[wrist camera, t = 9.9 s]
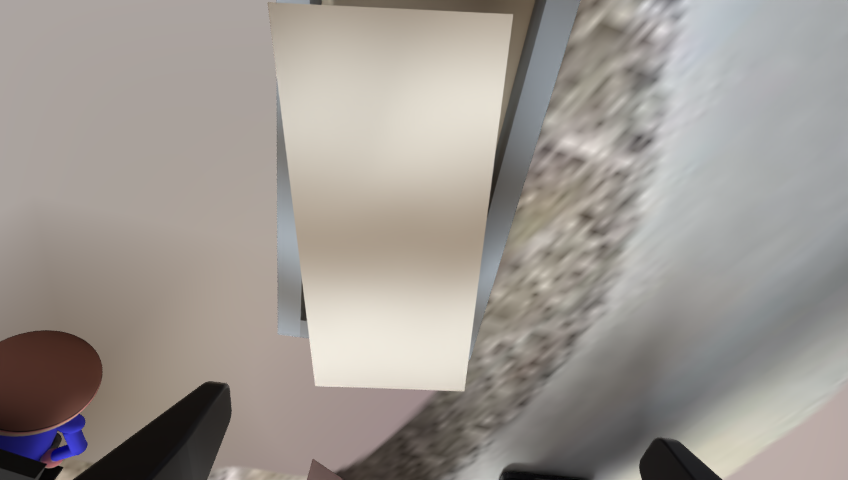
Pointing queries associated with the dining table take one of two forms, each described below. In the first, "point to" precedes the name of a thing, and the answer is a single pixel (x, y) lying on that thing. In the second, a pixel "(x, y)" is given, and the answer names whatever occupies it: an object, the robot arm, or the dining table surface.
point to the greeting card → (321, 472)
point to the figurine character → (44, 401)
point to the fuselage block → (390, 182)
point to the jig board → (517, 136)
